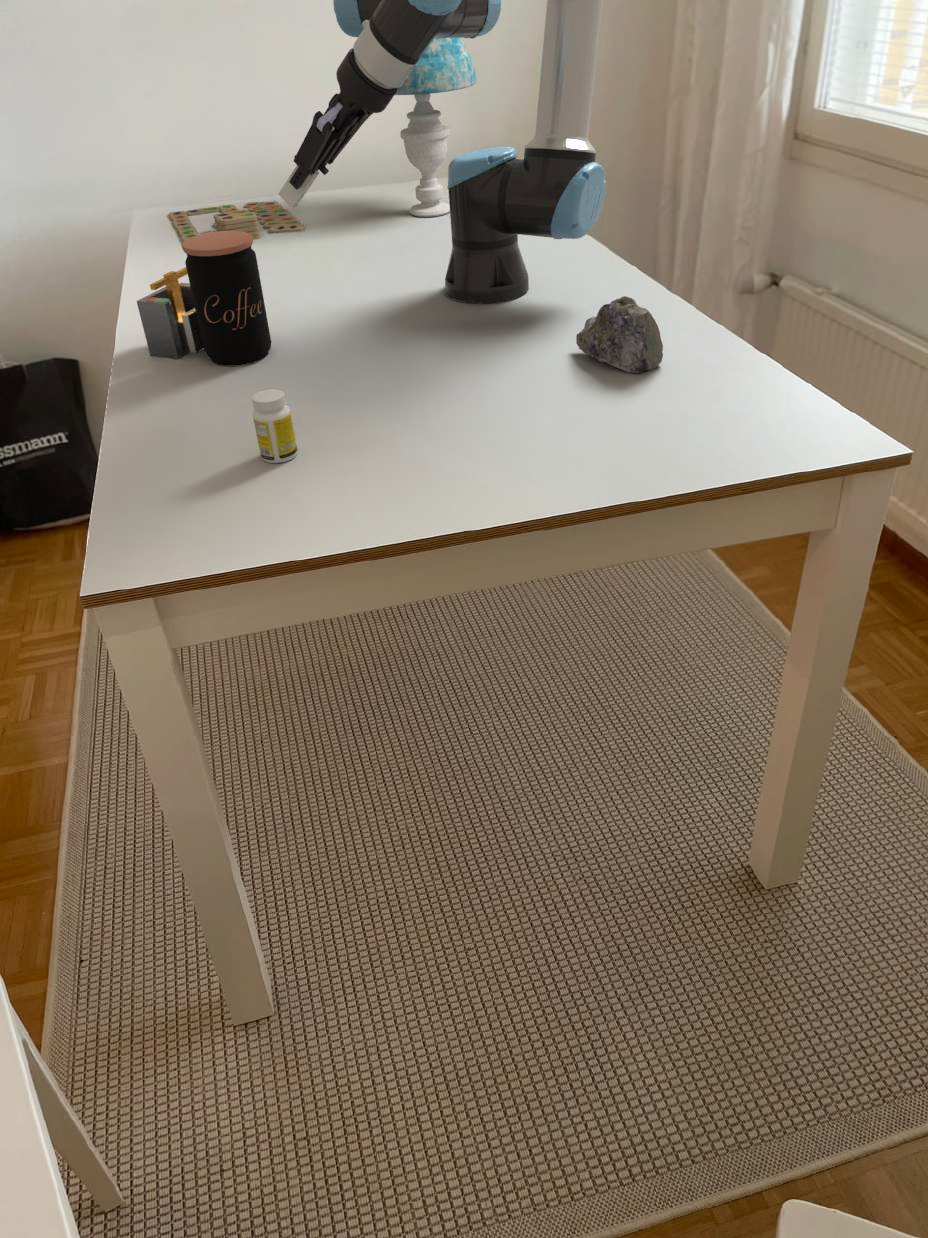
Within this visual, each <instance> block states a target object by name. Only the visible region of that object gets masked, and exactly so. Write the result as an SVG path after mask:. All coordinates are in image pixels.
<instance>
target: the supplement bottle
mask: <svg viewBox="0 0 928 1238" xmlns="http://www.w3.org/2000/svg"><path fill="white" fill-rule="evenodd" d="M252 406H253V408H254V410H253V412H252V419H253V425H254V429H255V433H256V439H257V443H258V448H259V452H260V458H261V460H263V462H266V463H268V464H281V463H286V462H289V461H292V460H293V459H294V458H296V457H297V455H298V446H297V441H296V436H295V435H296V434H295V429H294V425H293V420H292V413H291V410H290V407H289V406H287V403H286V398H285V394H284V391H282V390H280V389H274V388H271V389H265V390H260V391H258V392H256V393H254V394H253V396H252Z"/></svg>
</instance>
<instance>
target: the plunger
mask: <svg viewBox="0 0 928 1238" xmlns="http://www.w3.org/2000/svg"><path fill="white" fill-rule="evenodd" d="M162 276H163V278H161V279H159V280H157V281H154V282H152V283H150V284H149V288H150V290H152V291H157V290H159V289H161V288H164V286H165V287H166V289H167V293H168V297H169V299H170V301H171V302H172V306H173V311H174V315H175V319H176V324H177V328H178V332H179V336H180V341H181V345H182V346H184V347H189V349H190V353H198V352H200V351H202V350H204V346H203V342H202V337H201V333H200V328H199V324H198V319H197V314H196V310H195V308H194V309H192V310H190V311H188V312H185V308H184V304H183V299H182V295H181V290H180V286H179V284H180V283H179V279H182V278H183V277H185V276H188V273H187V269H186V266H185V267H184V268H181V269H179V270H177V271H175V270H171V271H169V272H166V273H165V274H163V275H162Z"/></svg>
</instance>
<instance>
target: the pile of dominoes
mask: <svg viewBox="0 0 928 1238" xmlns="http://www.w3.org/2000/svg"><path fill="white" fill-rule="evenodd" d="M283 207H284V206H283V205H282V204H279V202H278V201H277V200H276V201H275V200H274V201H253V202H250V201H249V202H246V203H245V204H244V205H243V208H244V209H243V210H241V209H240V210H239V209H238V208H237V206H236V205H235V204H224V205H219V206H210V207H203V208H202V207H201V208H196V209H189V210H185V211H184V210H178V211H170V212H169V213H168V217H169V219H170V221H171V222H172V226H173V227H174V229H175V230H176V231H177V232H176V233H177V234H178V236H179V237H180V239H181V241H182V243H183V242H184V241H185V240H187V239H189V238H191V237H194V236H197V235H200V234H199V232H198V231H197V228H196V227H195V225H193V223H192V222H191V219H190V217H193V216H200V215H206V214H207V215H208V214H213V219H214V223H213V224H212V227H213V228H214V229H215V230H216V232H218V231H242V232H246V233H249V234H251V235H252V236H253V241H254V240H260V239H261V237H262V236H261V233H260V227H259V224H260V226H263V229H264V230H268V234H286V233H299V232H300V233H301V232H305V230H306V229H307V228H306V224H302V223H301V221H300V220H299V219H298V220H297V217H296V216H293V213H292V212H289V210H288V208H283ZM214 213H216V214H214ZM258 221H260V222H258Z"/></svg>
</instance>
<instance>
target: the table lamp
mask: <svg viewBox="0 0 928 1238" xmlns="http://www.w3.org/2000/svg"><path fill="white" fill-rule="evenodd" d="M476 72H477V71H476V69H475V65H474V61H473V59H472V56H471V53H469V51H468V50H467V49H466V44H465V43H464V40H463V38H435V39H434V40H433V41H432V42H431V44H430V45H429V46H428V48H427V49H426V51H425V52H424V53H423V55H422V56H421V58H420V59H419V61H418V62H417V64H416V65H415V67H414V68H413V70H412V71H411V73H410V74H409V76H408V77H407V78H406V80H405V81H404V83H403V84H402V86H401V87H399V88H397V92H396V94H395V95H394V96H413V95H414V99H415V101H416V103H415V105H414V107H413V110H412V111H410V112H408V113H406V118H407V119H408V120H409V122H408V124H407V127H405V128H403V129H401V130H400V133H399V135H400V139H401V140H403V143H404V144H403V145H404V150H405V154H406V158H407V159H408V161H409V163H411V165H412V166H413V167H414V168H416V169H417V170H419V172H420V174H421V178H420V179H419V185H416V187H415V198H416V200H417V201H419V202H420V203H417V204H415V205H412V206H411V207H410V208H409V213H410V214H411V215H413V216H414V217H419V218H433V217H435V218H436V217H439V216H444V215H447V214H450V205H449V203H448V202H444V201H443V202H442V201H441V200H442V199H443V198H444V186H443V185H442V184H441V183H439V182H438V178H437V177H436V171H437V169H438V167H440V166H441V165H443V163H444V162H445V159H446V156H447V151H448V141H449V139H448V137H449V136H450V135H451V128H450V127H449V126H446V125H442V122H441V120H440V118H439V117H441V115H442V112H441V111H440V110H438V109H434V107H433V105H432V104H431V101H430V98H431V94H441V93H448V92H453V91H458V90H463V89H467V88H469V87H473V86H474V85H476V83H478V78H477V74H476Z"/></svg>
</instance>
